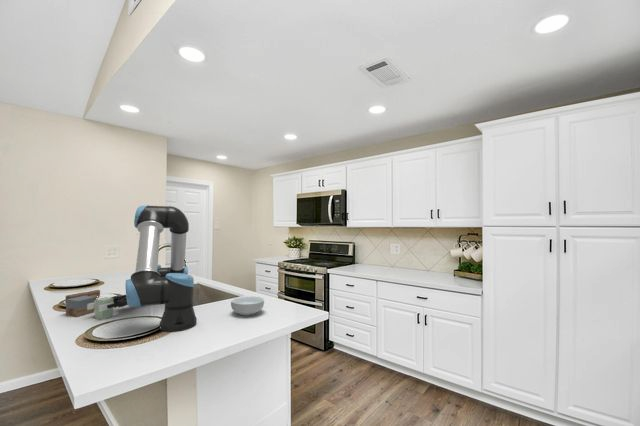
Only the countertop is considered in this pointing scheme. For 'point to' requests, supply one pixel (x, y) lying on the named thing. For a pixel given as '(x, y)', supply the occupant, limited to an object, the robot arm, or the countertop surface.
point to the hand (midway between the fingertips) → (93, 307)
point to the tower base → (78, 312)
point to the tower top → (79, 302)
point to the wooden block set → (84, 294)
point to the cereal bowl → (247, 305)
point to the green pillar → (104, 313)
